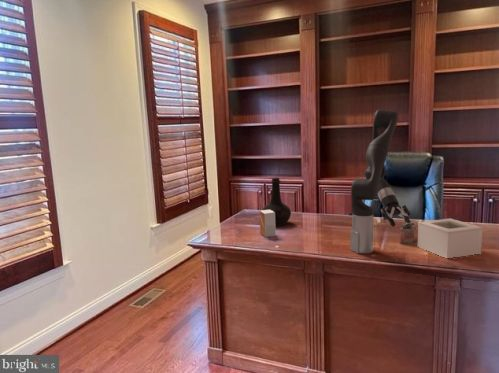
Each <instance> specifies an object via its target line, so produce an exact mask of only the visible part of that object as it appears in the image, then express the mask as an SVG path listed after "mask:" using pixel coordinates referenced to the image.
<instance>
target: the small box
mask: <svg viewBox="0 0 499 373" xmlns="http://www.w3.org/2000/svg"><path fill="white" fill-rule="evenodd" d="M259 231H260V232H259V233H260V234H261V235H262V236H264V238H268V237H269V238H271V237H275V236H276V237H277V235H276V234H277V232H276V231H277V230H276V225H275V212H273V211H272V210H262V209H261V210H259Z"/></svg>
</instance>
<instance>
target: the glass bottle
mask: <svg viewBox="0 0 499 373" xmlns="http://www.w3.org/2000/svg"><path fill="white" fill-rule="evenodd" d="M270 182H271V194H270V199H269V203H267V204H266V205H264V206H263V208H262V209H261V210H272V211H273V212H275V227H276V226H283V225H285V224H287V223H288V221H289V220H290V219H291V216H292V212H291V208H290V207H289V206H288V205H286V204H284V203H283V201H282V198H281V188H280V183H281V180H280V177H271V181H270Z"/></svg>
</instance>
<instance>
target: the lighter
mask: <svg viewBox="0 0 499 373" xmlns="http://www.w3.org/2000/svg"><path fill="white" fill-rule="evenodd" d="M416 229H417V227H415V222H410V223H406V222H405V223H402V227H400V228H399V231H400V234H399V235H400V236H399V244H400V245H412V244H411V243H413V244H416Z"/></svg>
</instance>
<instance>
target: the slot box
mask: <svg viewBox="0 0 499 373" xmlns="http://www.w3.org/2000/svg"><path fill="white" fill-rule="evenodd" d="M417 225H418V226H417V248H418V247H419V249H421V248H422V249H421V250H423V249H424V251H426V250H427V251H426V252H428V251H430V252H432V253H431V254H433V253H435V254H437V255H439V256H438V257H440V256H442V257H445V258H453V257H460V256H466V257H468V256H467V255H473V256H475V255H474V254H480V255H481V254H482V242H483V229H484V228H483V227H482V226H479V225H475V224H472V223H468V222H464V221H461V220H457V219H454V218H451V217H449V218H443V219H441V218H440V219H435V220H434V219H433V220H425V221H418V224H417ZM430 252H429V253H430ZM435 254H434V255H435ZM437 255H436V256H437ZM442 257H441V258H442ZM445 258H444V259H445ZM460 258H461V257H460ZM453 259H454V258H453Z"/></svg>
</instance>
